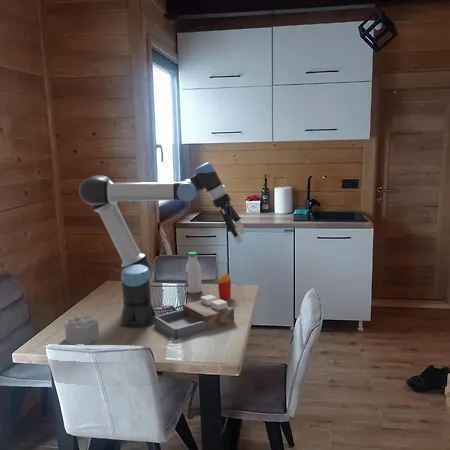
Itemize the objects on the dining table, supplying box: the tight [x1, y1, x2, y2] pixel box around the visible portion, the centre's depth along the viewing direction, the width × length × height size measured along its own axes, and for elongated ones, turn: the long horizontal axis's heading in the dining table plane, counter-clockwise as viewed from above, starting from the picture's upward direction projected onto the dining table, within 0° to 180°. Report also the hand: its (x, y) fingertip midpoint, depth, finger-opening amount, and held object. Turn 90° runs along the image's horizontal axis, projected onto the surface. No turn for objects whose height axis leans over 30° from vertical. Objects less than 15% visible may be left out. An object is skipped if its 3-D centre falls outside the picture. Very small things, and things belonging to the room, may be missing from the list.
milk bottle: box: [185, 251, 203, 294], centre depth 249 cm, size 8×8×20 cm
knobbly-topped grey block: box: [64, 314, 100, 346], centre depth 194 cm, size 10×13×9 cm
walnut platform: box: [182, 299, 235, 331], centre depth 210 cm, size 14×18×6 cm
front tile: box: [211, 299, 228, 310], centre depth 208 cm, size 5×5×2 cm
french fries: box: [217, 273, 232, 302], centre depth 236 cm, size 8×4×12 cm, turn 148°
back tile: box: [200, 294, 218, 305], centre depth 214 cm, size 5×5×2 cm
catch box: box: [153, 308, 207, 340], centre depth 202 cm, size 14×18×4 cm
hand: (242, 238), depth 220 cm, fingers open, 13 cm apart
